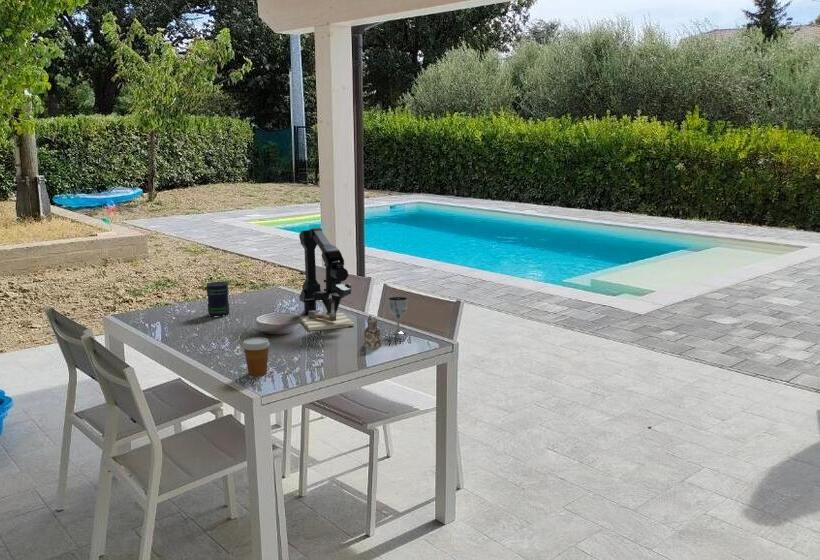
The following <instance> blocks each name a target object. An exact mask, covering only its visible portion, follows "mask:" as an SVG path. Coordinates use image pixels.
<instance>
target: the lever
mask: <svg viewBox="0 0 820 560" xmlns="http://www.w3.org/2000/svg"><path fill="white" fill-rule="evenodd" d="M334 302H335V300H334V299H333V300H332V302H331V313H329V315H326V313H320V312H318V310H317V311H309V315H308V316H309V318H319V319H323V320H327V321H332V322H333V321H336V317H335V314H334ZM317 312H318V313H317Z"/></svg>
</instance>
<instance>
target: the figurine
mask: <svg viewBox="0 0 820 560" xmlns="http://www.w3.org/2000/svg"><path fill="white" fill-rule="evenodd" d="M362 346H363V347H364V348H366V347H367V348H366V349H378V348H381V347H382V339H381V330H380V328H378V319H376V317H375V316H372V315H368V319H367V327H366V328H365V329H364V332H363V342H362Z"/></svg>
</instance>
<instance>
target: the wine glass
mask: <svg viewBox="0 0 820 560" xmlns="http://www.w3.org/2000/svg"><path fill="white" fill-rule="evenodd" d="M388 307H389V311H390V314H392V315H393V316H394V318H395V319H396V325H397V327H396V329H397V330H392V331H393V332H392V331H391V332H392V333H394V334H403V335H405V334H404V333H406V332H407V331H406V332H405V330H400V321H401V318H402V317H403V315H405V313H407V308H408V297H406V296H402V295H399V296H398V295H397V296H396V295H395V296H391V297H388ZM406 334H407V333H406Z"/></svg>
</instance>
